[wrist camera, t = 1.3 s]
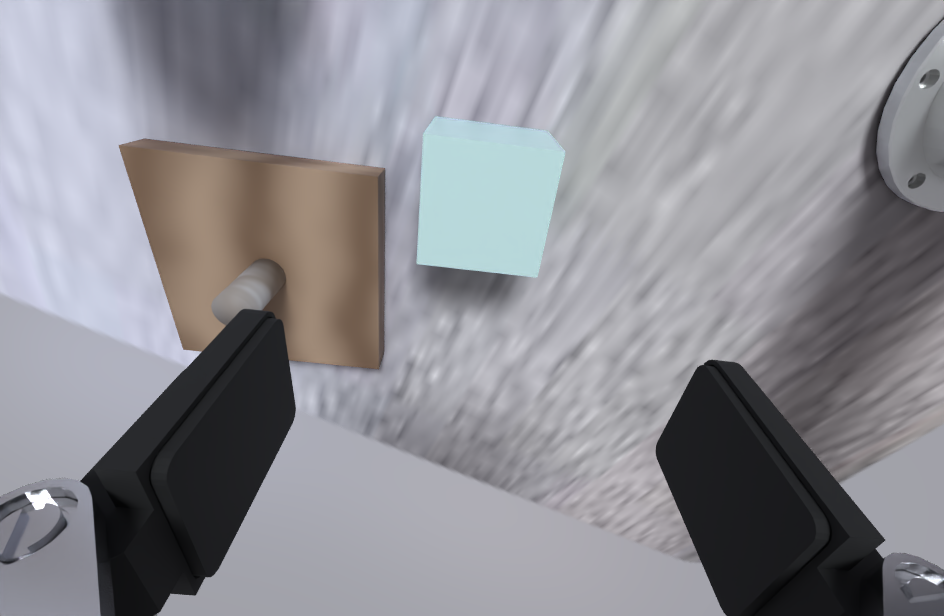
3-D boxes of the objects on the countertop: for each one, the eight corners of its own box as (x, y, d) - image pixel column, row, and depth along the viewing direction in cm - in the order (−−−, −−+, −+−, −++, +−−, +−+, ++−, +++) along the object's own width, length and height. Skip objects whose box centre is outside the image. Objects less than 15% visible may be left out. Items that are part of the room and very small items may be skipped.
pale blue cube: (547, 130, 23) (565, 151, 19) (526, 236, 27) (537, 277, 22) (435, 116, 23) (423, 133, 18) (428, 224, 27) (416, 263, 22)
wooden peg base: (384, 168, 25) (357, 201, 19) (384, 352, 32) (363, 414, 27) (144, 138, 24) (44, 164, 19) (199, 333, 31) (139, 393, 26)
